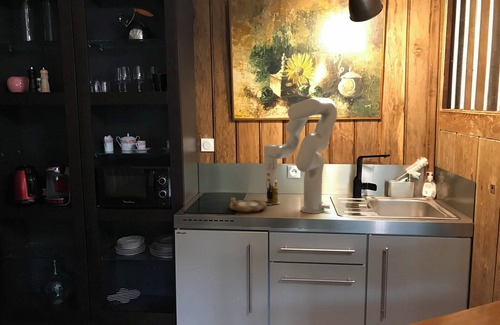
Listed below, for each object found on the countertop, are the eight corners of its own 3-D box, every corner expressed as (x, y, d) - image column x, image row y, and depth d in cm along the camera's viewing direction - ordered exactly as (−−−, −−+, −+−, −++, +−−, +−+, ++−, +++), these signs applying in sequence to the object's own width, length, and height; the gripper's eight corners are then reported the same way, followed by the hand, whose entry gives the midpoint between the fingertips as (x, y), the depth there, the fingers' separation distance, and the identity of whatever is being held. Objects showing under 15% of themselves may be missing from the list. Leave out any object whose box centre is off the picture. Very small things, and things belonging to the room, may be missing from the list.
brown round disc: (258, 201, 241) (257, 191, 240) (272, 209, 222) (272, 198, 221) (224, 204, 233) (224, 194, 233) (237, 213, 215) (236, 202, 214)
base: (261, 207, 232) (261, 205, 232) (255, 213, 221) (255, 210, 220) (241, 206, 235) (241, 204, 235) (234, 211, 224) (234, 209, 224)
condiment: (281, 202, 240) (280, 182, 238) (269, 205, 235) (268, 183, 234) (273, 200, 246) (272, 180, 244) (261, 202, 241) (261, 182, 240)
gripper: (273, 168, 229) (273, 200, 231) (280, 164, 246) (281, 194, 248) (260, 168, 231) (260, 200, 234) (268, 164, 248) (268, 194, 250)
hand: (271, 197), depth 241 cm, fingers closed on condiment, 6 cm apart
